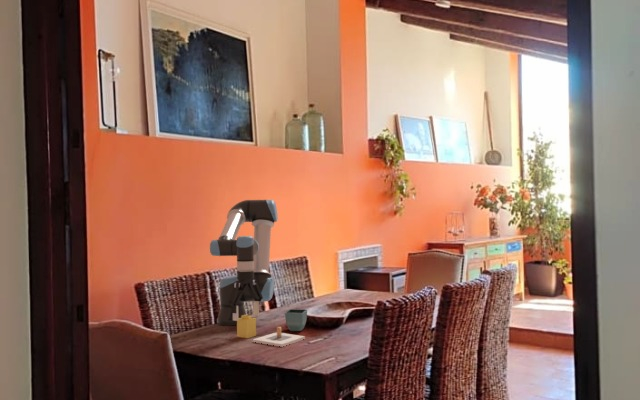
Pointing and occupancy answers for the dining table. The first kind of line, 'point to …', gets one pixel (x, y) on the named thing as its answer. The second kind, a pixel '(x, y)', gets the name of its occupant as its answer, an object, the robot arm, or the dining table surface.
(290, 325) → the flower pot
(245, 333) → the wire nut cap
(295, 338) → the post board
